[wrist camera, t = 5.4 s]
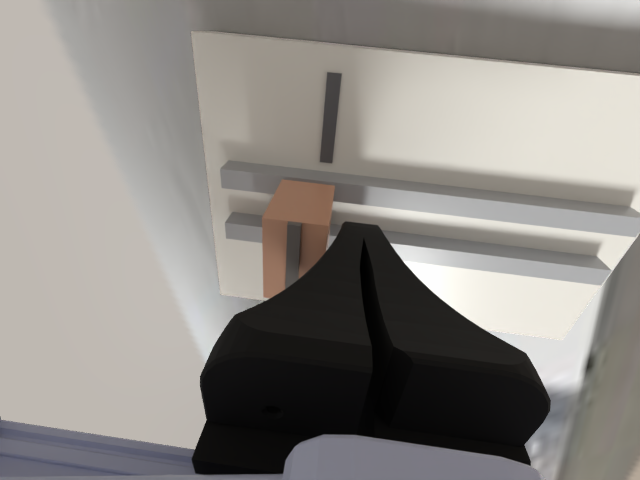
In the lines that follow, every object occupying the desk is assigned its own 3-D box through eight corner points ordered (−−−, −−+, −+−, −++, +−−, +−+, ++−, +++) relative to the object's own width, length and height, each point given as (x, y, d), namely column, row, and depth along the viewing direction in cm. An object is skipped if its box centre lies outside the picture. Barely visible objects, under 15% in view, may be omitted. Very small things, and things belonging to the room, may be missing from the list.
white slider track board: (544, 312, 19) (573, 356, 16) (232, 271, 19) (213, 307, 17) (691, 78, 12) (779, 91, 10) (212, 31, 13) (176, 31, 10)
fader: (328, 243, 15) (319, 309, 11) (284, 238, 15) (261, 301, 11) (336, 176, 13) (328, 229, 10) (286, 170, 13) (260, 220, 10)
